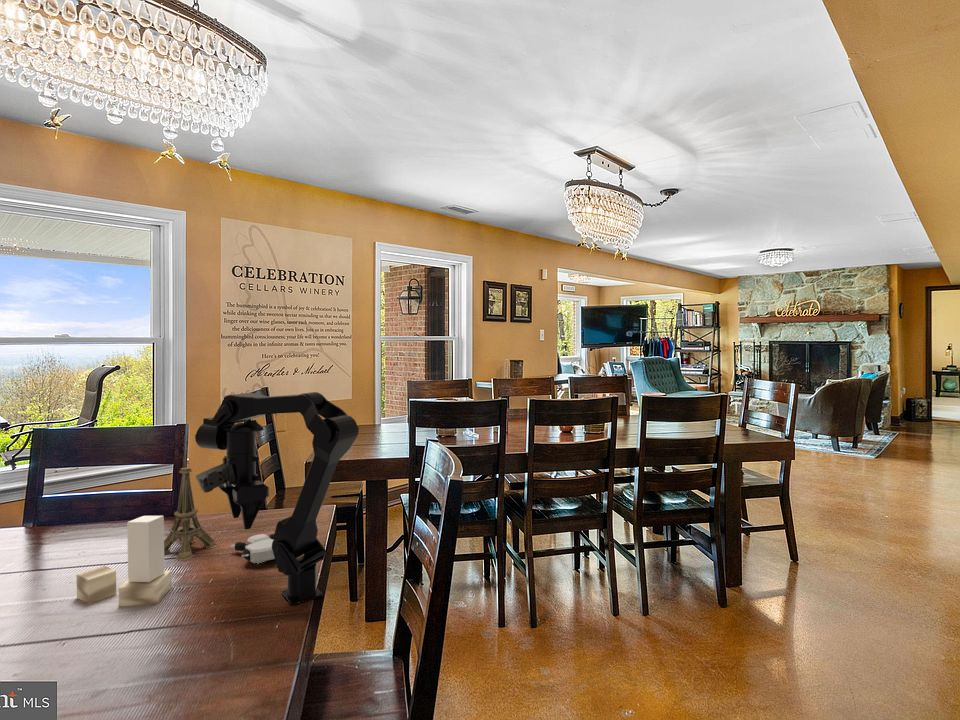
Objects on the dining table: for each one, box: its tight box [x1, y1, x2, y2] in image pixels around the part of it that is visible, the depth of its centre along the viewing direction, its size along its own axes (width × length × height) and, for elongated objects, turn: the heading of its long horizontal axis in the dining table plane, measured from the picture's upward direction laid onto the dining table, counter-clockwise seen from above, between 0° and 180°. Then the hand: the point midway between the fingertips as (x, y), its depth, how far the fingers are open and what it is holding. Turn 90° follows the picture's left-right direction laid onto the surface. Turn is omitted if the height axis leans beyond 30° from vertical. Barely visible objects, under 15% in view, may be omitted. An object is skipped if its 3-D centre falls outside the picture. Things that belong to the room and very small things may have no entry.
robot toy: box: [230, 533, 275, 565], centre depth 128 cm, size 12×4×15 cm
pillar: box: [126, 515, 166, 582], centre depth 107 cm, size 4×4×12 cm
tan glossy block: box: [118, 570, 173, 607], centre depth 107 cm, size 7×7×4 cm
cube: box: [75, 565, 117, 605], centre depth 107 cm, size 5×5×5 cm
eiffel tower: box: [164, 451, 218, 562], centre depth 131 cm, size 11×11×25 cm
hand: (241, 523), depth 113 cm, fingers open, 9 cm apart
